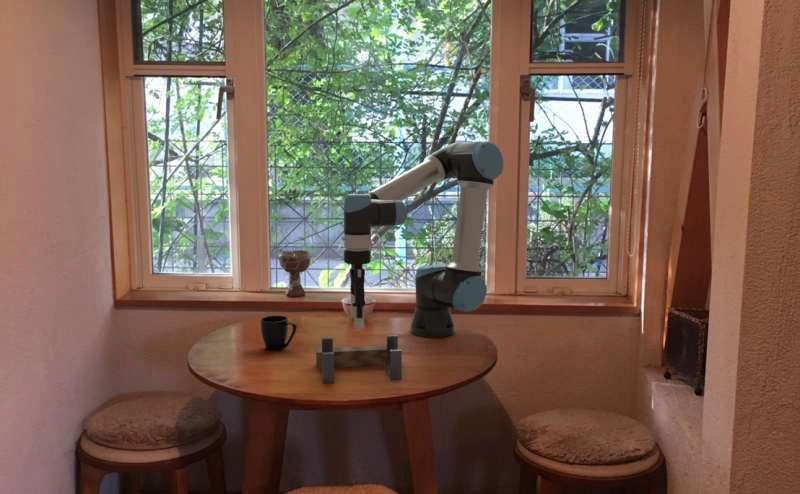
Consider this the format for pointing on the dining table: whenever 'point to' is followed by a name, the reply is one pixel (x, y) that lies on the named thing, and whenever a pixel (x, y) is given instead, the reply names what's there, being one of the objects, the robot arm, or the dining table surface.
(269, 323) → the mug
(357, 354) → the rail
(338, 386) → the dining table surface
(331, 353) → the bracket
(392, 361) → the bracket
